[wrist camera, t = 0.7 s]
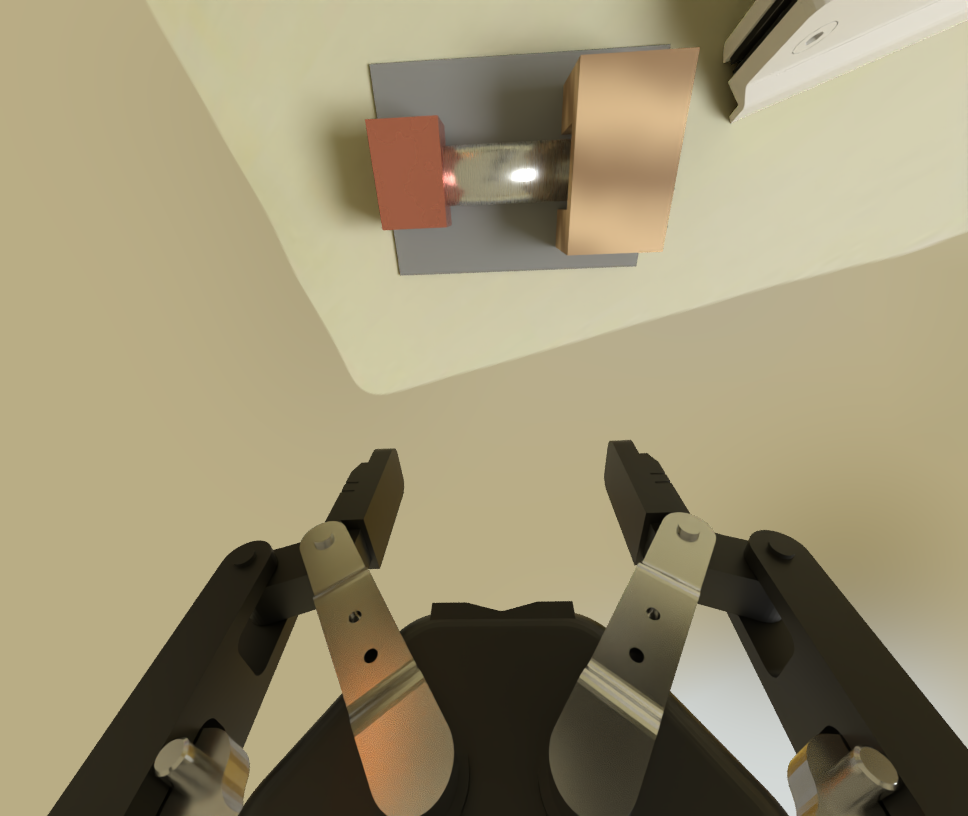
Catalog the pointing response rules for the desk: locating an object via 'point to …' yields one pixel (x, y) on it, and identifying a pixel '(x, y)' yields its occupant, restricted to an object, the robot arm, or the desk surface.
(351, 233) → the desk surface
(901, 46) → the white rounded piece
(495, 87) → the mat
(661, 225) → the wooden block
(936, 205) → the desk surface
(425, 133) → the pin
